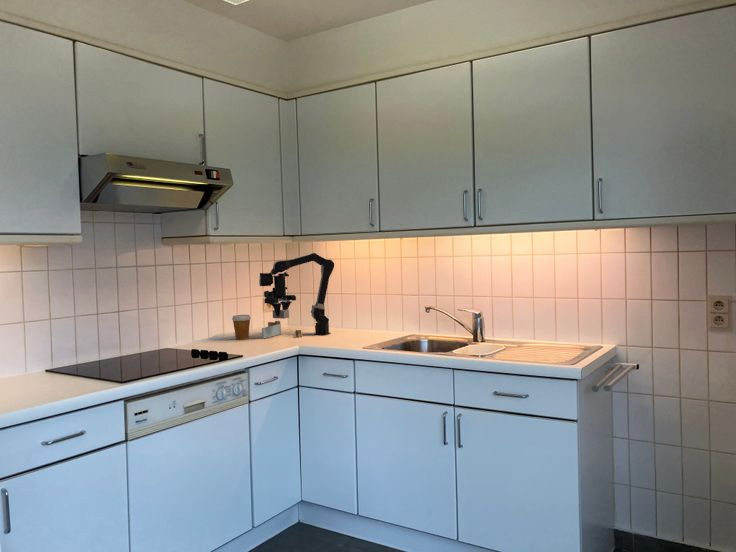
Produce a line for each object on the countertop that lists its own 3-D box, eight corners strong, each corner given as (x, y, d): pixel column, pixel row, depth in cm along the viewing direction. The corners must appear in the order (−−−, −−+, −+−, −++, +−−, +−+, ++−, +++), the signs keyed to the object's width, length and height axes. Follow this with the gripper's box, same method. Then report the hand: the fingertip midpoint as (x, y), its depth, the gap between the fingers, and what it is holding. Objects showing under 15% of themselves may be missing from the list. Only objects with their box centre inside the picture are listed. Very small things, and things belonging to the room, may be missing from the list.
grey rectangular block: (289, 317, 326) (288, 309, 326) (284, 318, 322) (283, 310, 322) (277, 317, 329) (277, 309, 329) (272, 318, 325) (272, 310, 325)
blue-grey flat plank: (279, 333, 338) (279, 323, 338) (281, 333, 338) (281, 323, 337) (262, 338, 324) (261, 327, 324) (264, 338, 324) (263, 327, 323)
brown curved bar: (267, 333, 344) (267, 320, 344) (271, 332, 346) (270, 319, 345) (298, 337, 324) (297, 323, 324) (301, 336, 326) (301, 323, 325)
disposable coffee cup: (253, 337, 331) (252, 314, 330) (248, 340, 321) (247, 316, 321) (236, 337, 332) (235, 314, 331) (230, 340, 322) (229, 317, 322)
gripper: (279, 284, 337) (280, 313, 338) (255, 286, 321) (256, 317, 322) (296, 284, 331) (297, 314, 332) (272, 287, 315) (273, 318, 316)
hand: (281, 315), depth 326 cm, fingers closed on grey rectangular block, 4 cm apart
